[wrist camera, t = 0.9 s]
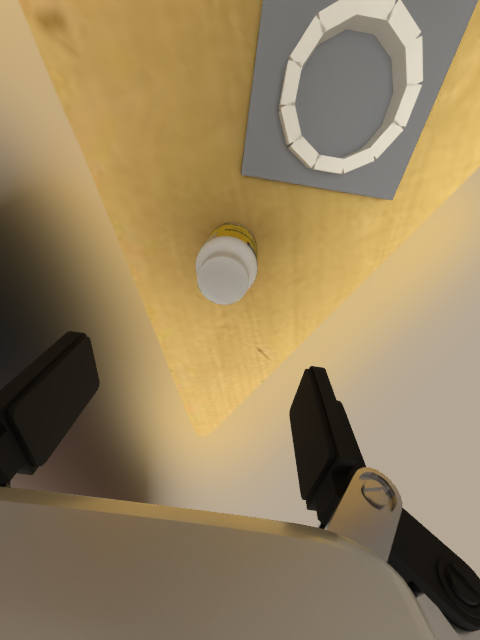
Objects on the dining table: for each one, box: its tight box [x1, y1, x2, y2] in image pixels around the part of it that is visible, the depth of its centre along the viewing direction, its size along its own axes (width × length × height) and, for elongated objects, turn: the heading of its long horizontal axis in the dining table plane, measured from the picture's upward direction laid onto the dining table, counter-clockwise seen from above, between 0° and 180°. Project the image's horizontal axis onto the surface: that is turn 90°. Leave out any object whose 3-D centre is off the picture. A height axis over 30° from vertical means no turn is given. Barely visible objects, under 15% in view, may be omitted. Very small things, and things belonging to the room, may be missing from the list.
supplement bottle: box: [195, 223, 258, 305], centre depth 23 cm, size 5×5×10 cm
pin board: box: [241, 0, 478, 200], centre depth 17 cm, size 20×14×4 cm
